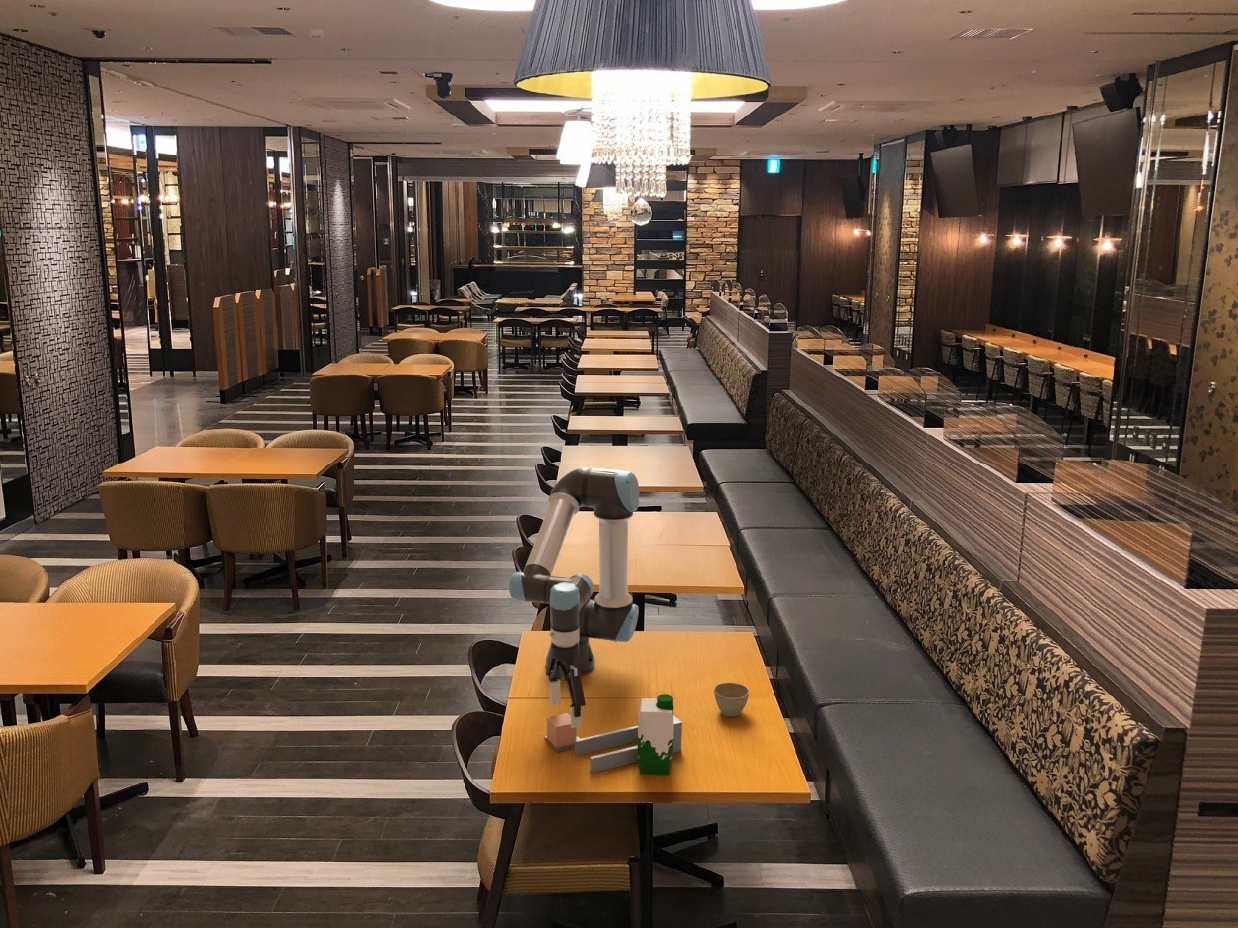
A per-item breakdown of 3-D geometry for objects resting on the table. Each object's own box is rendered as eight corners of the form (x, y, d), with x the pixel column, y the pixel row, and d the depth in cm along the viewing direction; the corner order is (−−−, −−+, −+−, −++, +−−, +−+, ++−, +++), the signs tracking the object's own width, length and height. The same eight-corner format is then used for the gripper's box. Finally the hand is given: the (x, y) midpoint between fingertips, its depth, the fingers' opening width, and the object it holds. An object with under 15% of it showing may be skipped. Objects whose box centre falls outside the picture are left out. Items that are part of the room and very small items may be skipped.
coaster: (544, 738, 281) (544, 735, 281) (572, 732, 285) (572, 729, 285) (556, 752, 274) (556, 749, 274) (584, 745, 278) (584, 742, 278)
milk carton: (672, 778, 264) (674, 706, 259) (636, 777, 264) (638, 704, 259) (672, 760, 272) (674, 690, 267) (637, 759, 272) (639, 688, 268)
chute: (575, 753, 274) (575, 724, 272) (661, 733, 285) (662, 705, 283) (592, 772, 265) (592, 743, 263) (681, 750, 276) (681, 722, 274)
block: (546, 737, 280) (546, 717, 279) (567, 732, 283) (567, 712, 281) (555, 747, 275) (555, 727, 274) (576, 742, 278) (576, 722, 276)
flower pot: (752, 709, 300) (753, 686, 298) (741, 724, 291) (743, 700, 289) (719, 702, 304) (720, 679, 302) (708, 716, 295) (708, 693, 293)
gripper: (533, 626, 282) (534, 696, 287) (571, 664, 260) (571, 739, 266) (559, 621, 285) (559, 691, 291) (598, 658, 264) (598, 733, 269)
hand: (565, 714), depth 278 cm, fingers open, 13 cm apart
